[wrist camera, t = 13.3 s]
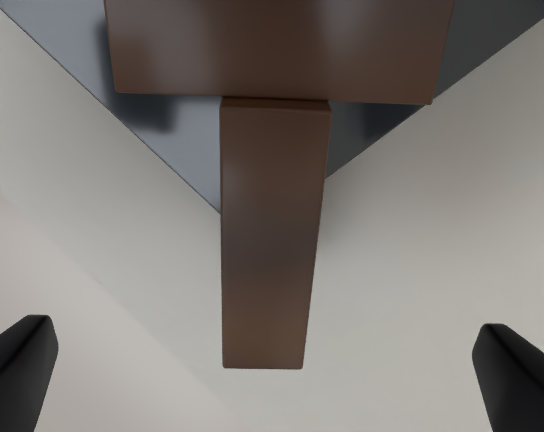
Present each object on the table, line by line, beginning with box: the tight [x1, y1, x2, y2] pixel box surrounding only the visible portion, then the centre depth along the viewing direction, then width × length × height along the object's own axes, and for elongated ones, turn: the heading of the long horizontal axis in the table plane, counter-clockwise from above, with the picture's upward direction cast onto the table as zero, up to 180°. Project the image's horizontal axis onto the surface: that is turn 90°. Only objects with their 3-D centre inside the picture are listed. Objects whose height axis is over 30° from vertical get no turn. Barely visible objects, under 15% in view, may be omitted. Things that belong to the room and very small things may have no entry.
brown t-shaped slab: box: [103, 0, 456, 369], centre depth 12 cm, size 13×7×4 cm, turn 177°
